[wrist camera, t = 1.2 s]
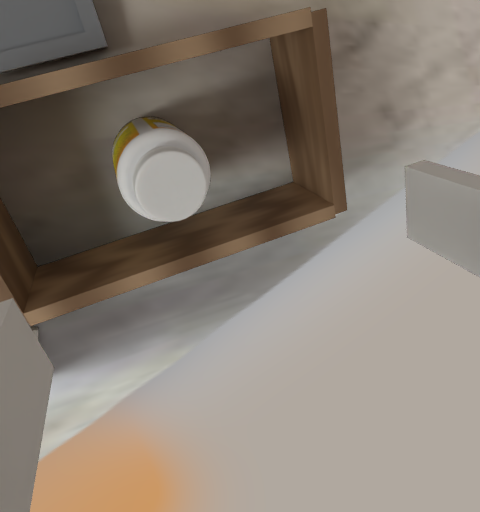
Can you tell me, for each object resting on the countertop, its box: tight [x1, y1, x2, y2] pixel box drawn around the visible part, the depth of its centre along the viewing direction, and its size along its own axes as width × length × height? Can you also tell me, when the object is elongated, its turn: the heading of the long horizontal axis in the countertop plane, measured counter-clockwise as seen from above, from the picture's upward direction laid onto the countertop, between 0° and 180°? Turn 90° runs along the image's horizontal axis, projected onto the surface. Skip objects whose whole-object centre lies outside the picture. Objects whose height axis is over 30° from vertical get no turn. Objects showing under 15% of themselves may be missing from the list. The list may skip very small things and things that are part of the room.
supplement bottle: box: [112, 117, 211, 222], centre depth 26 cm, size 6×6×10 cm
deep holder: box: [0, 7, 347, 326], centre depth 28 cm, size 24×14×7 cm, turn 103°
